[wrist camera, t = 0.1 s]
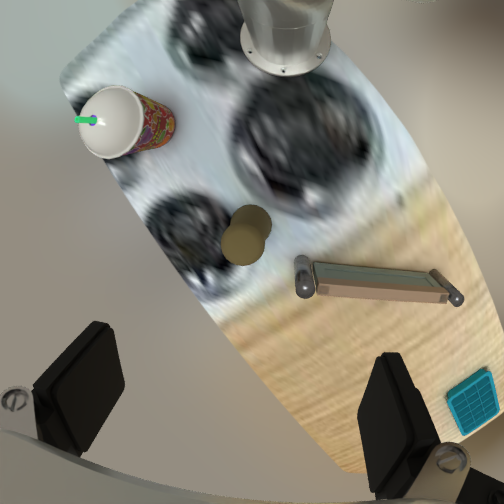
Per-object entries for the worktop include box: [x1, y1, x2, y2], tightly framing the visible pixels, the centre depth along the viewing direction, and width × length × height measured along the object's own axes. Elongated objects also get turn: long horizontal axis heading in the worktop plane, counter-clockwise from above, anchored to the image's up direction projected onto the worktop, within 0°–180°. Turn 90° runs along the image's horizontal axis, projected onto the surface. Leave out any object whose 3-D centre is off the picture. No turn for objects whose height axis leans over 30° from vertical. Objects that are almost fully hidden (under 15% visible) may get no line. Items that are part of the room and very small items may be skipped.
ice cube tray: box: [447, 369, 500, 436], centre depth 53 cm, size 12×20×3 cm, turn 38°
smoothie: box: [75, 85, 175, 159], centre depth 33 cm, size 8×8×20 cm
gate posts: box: [294, 255, 464, 307], centre depth 42 cm, size 2×24×10 cm, turn 86°
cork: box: [221, 205, 272, 266], centre depth 41 cm, size 6×6×11 cm
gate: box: [313, 262, 449, 304], centre depth 42 cm, size 19×2×8 cm, turn 86°
